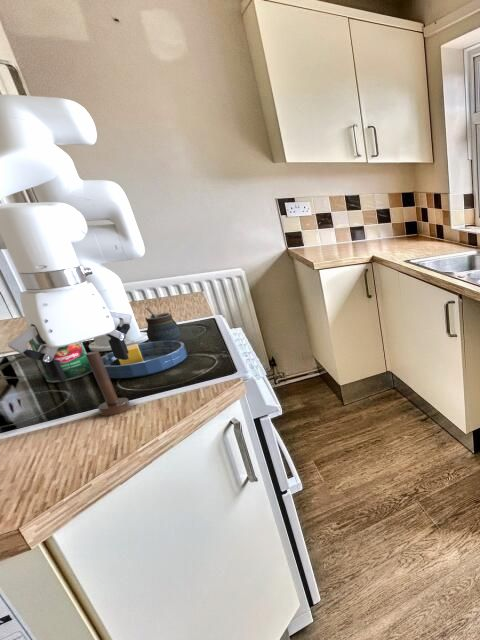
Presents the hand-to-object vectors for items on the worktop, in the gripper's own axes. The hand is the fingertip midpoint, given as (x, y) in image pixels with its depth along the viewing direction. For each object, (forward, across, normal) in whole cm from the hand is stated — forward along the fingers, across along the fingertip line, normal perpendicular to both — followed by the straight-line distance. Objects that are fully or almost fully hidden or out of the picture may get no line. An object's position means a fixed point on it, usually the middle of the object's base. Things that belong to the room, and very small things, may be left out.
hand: (92, 368), depth 79 cm
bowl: (+8, -16, -16) cm, 24 cm away
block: (+8, -15, -19) cm, 26 cm away
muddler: (+8, 0, +2) cm, 9 cm away
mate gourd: (+9, -28, -28) cm, 40 cm away
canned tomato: (+9, -7, -28) cm, 30 cm away
